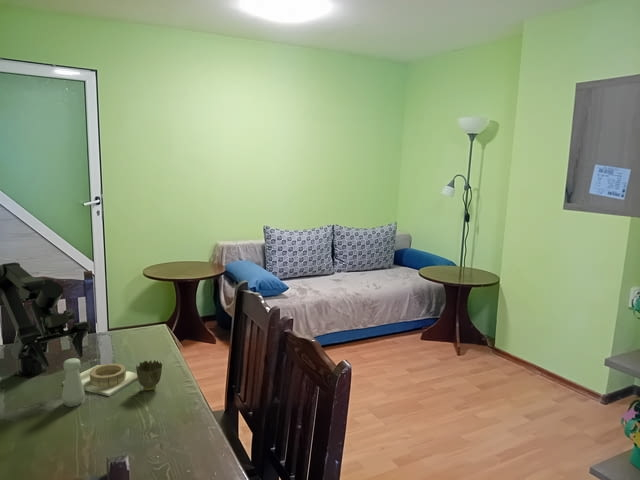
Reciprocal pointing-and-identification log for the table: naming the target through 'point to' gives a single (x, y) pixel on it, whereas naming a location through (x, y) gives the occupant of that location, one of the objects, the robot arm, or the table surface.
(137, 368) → the cup
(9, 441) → the table surface
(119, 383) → the socket
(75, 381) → the salt shaker
